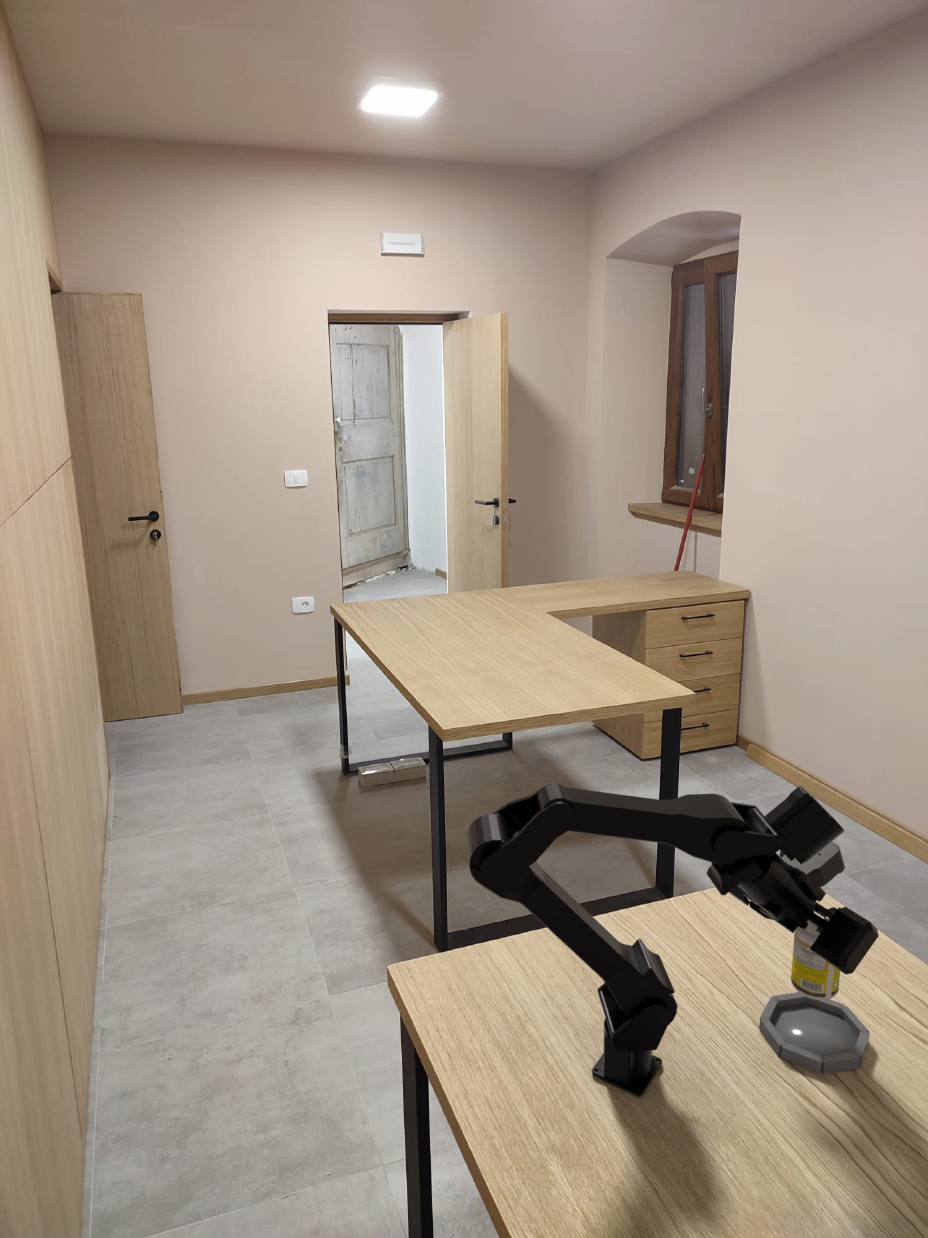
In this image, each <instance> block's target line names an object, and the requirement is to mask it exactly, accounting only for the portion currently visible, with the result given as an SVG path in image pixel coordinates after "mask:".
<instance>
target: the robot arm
mask: <svg viewBox="0 0 928 1238" xmlns="http://www.w3.org/2000/svg"><path fill="white" fill-rule="evenodd" d="M567 832H571V833H572V832H573V833H579V834H588V835H595V836H602V837H603V836H604V837H609V838H619V839H627V840H635V841H643V842H651V843H658V844H659V843H660V844H665V845H667V846H671V847H673V848H676V849H678V850H679V851H682V852H683V853H685V854H687V855H689V856H691V857H693V858H696V859H699V860H703V861H705V862H706V861H707V862H709V863H711V864H710V866H709V867H708V869H707V871H706V875H707V876H708V878H709V879H710V881H711V883H712V884H713V885H714V887H715V888H716V890H717V891H718V892H719V894H720V895H721V896H726V895H727V894H730V895H732V897H734V898H735V899H737V900H738V901H740V902H741V903H742V904H744V905H745V906H749V908H750V909H751V910H753V911H755V912H756V913H757V914H759V915H760V916H762V917H763V918H764V919H768V920H772V921H773V922H774V921H775V922H776V923H777V924H779V925H780V926H782V927H783V928H785V929H786V930H787V931H789V932H790V933H792V934H794V933H795V930H796V928H797V927H800V928H801V929H803V930H805V929H806V928H807V926H808V922H807V921H809V922H811V923H812V924H814V925H815V926H817V929H816V931H817V932H818V933H819V934H820V935H818V938H817V939H816V940H815V942H814V943H813V945H812V946H811V948H810V950H812V951H813V952H815V953H816V954H817V955H819V956H820V957H822V958H823V959H824V960H826V961H827V962H828V963H830V964H831V965H833V966H834V967H835V968H837V969H838V970H840V973H842V974H844V975H850V974H853V973H854V972H855V970H856V969H857V968H858V966H859V965H860V964H861V962H862V960H863V959H864V958H865V956H866V955H867V953H868V952H869V950H870V949H871V948H872V946H873V945H874V943H876V941H877V939H878V938H879V937H880V936H879V930H878V928H877V927H876V926H875V925H874V924H873V923H872V922H871V921H870V920H868V919H867V918H865V917H864V916H862V915H860V914H858V913H857V912H855V911H853V910H852V909H850V908H849V907H847V906H844V907H840V906H839V907H834V906H832V907H830V908H826V907H824V905H821V904H820V902H822V900H823V899H824V898H825V896H826V895H827V892H826V891H825V890H824V889H823V888H822V887H824V886H826V885H828V884H829V883H830V882H831V881H832V880H834V878H835V877H837V875H839V874H842V873H843V872H844V871H845V869H846V865H845V862H844V857H843V855H842V851H841V848H840V846H839V844H838V843H835V842H834V840H836V839H837V838H839V836H841V835H842V834H843V833H844V832H846V830H845V829H844V828H843V826H841V825H840V823H839V822H838V821H837V820H836V819H835V817H834V816H832V815H831V814H830V812H828V811H827V809H825V807H824V806H823V805H822V804H820V803H819V802H818V800H817V799H816V798H815V797H813V795H810V793H809V792H808V791H807V790H806V789H805V788H804V787H803V786H801V785H800V786H799V785H798V786H797V787H796V788H795V789H794V790H792V791H791V792H790V793H789V794H788V796H786V797H785V799H784V800H782V801H781V802H780V803H778V805H776V806H775V807H774V808H773V809H772V810H770V811H769V812H768V813H766V814H765V815H764V814H763V812H762V811H761V810H760V809H759V808H758V807H757V805H755V804H754V805H753V804H748V803H747V804H746V803H739V802H733V801H730V800H729V799H728V798H727V797H726V796H724V795H721V794H718V793H696V794H694V793H693V794H692V793H691V794H685V795H682V796H679V797H677V798H676V797H675V798H673V799H659V798H658V799H657V798H652V797H651V798H649V797H641V796H635V795H627V794H619V793H610V792H604V791H596V790H589V789H581V788H574V787H567V786H564V785H562V784H559V783H549V784H546V785H544V786H542V787H541V788H539V789H538V790H537V791H535V792H534V793H532V794H529V795H527V796H525V797H524V796H523V797H521V798H518V799H515V800H512V801H509V802H507V803H506V804H504V805H503V806H501V807H500V808H498V809H496V810H495V811H494V812H491V813H489V814H488V813H487V814H484V815H481V816H479V817H477V818H476V819H474V820H473V821H472V822H471V824H470V825H469V827H468V829H467V832H466V847H467V848H466V850H467V856H468V866H469V872H470V874H471V877H472V878H473V881H475V882H476V883H478V884H479V885H480V886H482V887H483V888H484V889H486V890H488V892H491V893H492V894H494V895H496V896H498V897H499V898H500V899H504V900H507V901H511V902H515V903H516V902H517V903H519V904H521V905H522V906H523V907H524V908H525V909H526V910H528V911H529V913H531V914H532V915H533V916H534V917H535V918H536V919H537V920H538V921H539V922H540V923H542V924H543V926H545V928H547V929H548V930H549V931H550V932H551V933H552V935H553V934H554V936H555V937H556V938H558V940H560V941H561V942H562V944H564V945H565V946H566V947H567V948H568V949H570V950H571V951H572V953H574V954H575V955H576V956H577V957H578V958H579V959H580V960H581V961H582V962H583V963H584V964H585V965H587V966H588V967H589V968H590V969H591V971H593V972H594V973H595V974H596V975H597V976H598V977H599V978H600V979H602V981H603V983H602V984H601V985H600V986H599V987H598V988H597V990H596V991H597V995H598V997H599V1001H600V1005H601V1007H602V1008H601V1009H602V1011H603V1013H604V1017H605V1018H604V1021H603V1053H602V1055H601V1056H600V1057H599V1058H598V1060H597V1061H596V1062H595V1064H594V1065H593V1067H592V1068H591V1075H593V1076H594V1077H595V1078H598V1079H600V1080H602V1081H605V1082H607V1083H609V1084H612V1085H613V1086H616V1087H618V1088H620V1089H622V1090H624V1091H626V1092H628V1093H631V1094H633V1095H634V1096H637V1097H642V1096H644V1093H646V1091H647V1089H648V1087H649V1086H650V1085H651V1083H652V1081H653V1080H654V1078H655V1076H657V1075H656V1074H657V1073H658V1071H659V1070H660V1069H661V1067H662V1066H663V1060H662V1058H660V1057H658V1056H656V1055H654V1054H653V1051H657V1050H658V1048H659V1046H660V1043H661V1041H662V1039H663V1037H664V1034H665V1033H666V1031H667V1028H668V1026H669V1025H670V1024H672V1022H673V1021H674V1020H675V1018H676V1015H677V1013H678V1007H679V1006H678V1004H677V1001H676V998H675V996H674V994H675V993H676V990H675V988H674V986H673V984H672V982H671V980H670V977H669V974H668V973H667V970H666V967H665V964H664V963H663V961H662V959H661V955H660V954H658V953H655V952H653V951H651V950H650V949H649V948H648V947H647V945H646V944H645V942H644V941H643V940H642V939H641V938H640V937H639V938H638V939H636V940H635V942H634V943H633V944H632V945H629V944H625V943H622V942H620V940H618V939H617V938H616V937H614V936H613V934H611V932H609V931H608V930H607V929H606V928H605V927H604V926H603V925H602V924H601V922H599V921H598V920H597V919H596V918H595V917H593V915H592V914H591V913H589V912H588V910H587V909H585V908H584V907H583V906H582V905H581V904H580V902H578V901H577V899H574V898H573V896H572V895H570V894H569V892H567V891H566V889H564V888H563V887H562V886H561V885H560V884H559V883H558V882H557V881H556V880H555V879H553V877H552V876H550V875H549V874H548V873H547V872H546V871H545V870H544V869H543V868H542V867H541V865H540V864H539V862H538V860H539V858H540V857H541V856H543V854H544V853H545V852H546V851H547V849H548V848H549V847H550V846H551V845H552V844H553V842H555V840H556V839H558V838H559V837H561V836H562V835H564V834H565V833H567ZM779 851H780V852H779ZM777 852H779V854H778V853H777ZM818 902H819V903H818ZM814 911H815V912H816V913H818V914H820V915H821V916H823V917H824V919H823V918H822V917H820V916H818V915H817V914H815V913H814ZM826 917H828V918H829V919H828V918H826Z"/></svg>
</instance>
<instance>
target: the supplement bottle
mask: <svg viewBox="0 0 928 1238" xmlns="http://www.w3.org/2000/svg"><path fill="white" fill-rule="evenodd" d="M814 913H815V914H817V915H818V916H820V917H822V918H823V919H824V917H823V916H821V915H820V914H818V913H816V912H815V911H814ZM826 918H828V917H826ZM828 919H829V918H828ZM807 922H808V926H807V928H806V929H805V930H803V929H801V928H800V927H797V928H796V930H795V931H794V933H793V935H794V936H793V947H792V948H793V949H792V960H791V961H792V962H791V972H790V973H791V974H790V981H791V985H792V987H793V988H794V989H795V991H796V992H799V993H800V994H802V995H803V996H805V997H808V998H811V999H815V1000H828V999H830V1000H832V999H833V998H835V997H836V996H837V995H838V993H839V987H840V980H841V971H840V970H838V969H837V968H835V967H834V966H833V965H831V964H830V963H828V962H827V961H826V960H824V959H823V958H822V957H820V956H819V955H817V954H816V953H815V952H813V951H812V950H810V948H811V946H812V945H813V943H814V942H815V940H816V939H817V938H818V935H820V934H819V933H818V932H817V931H816V929H817V926H815V925H814V924H812V923H811V922H809V921H807Z"/></svg>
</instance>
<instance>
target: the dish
mask: <svg viewBox="0 0 928 1238" xmlns="http://www.w3.org/2000/svg"><path fill="white" fill-rule="evenodd" d="M758 1028H759V1031H760V1032H761V1034H762V1035H763V1038H765V1039H766V1041H767V1042H768V1043H769V1045H770V1047H771V1048H772V1050H774V1052H775V1054H776V1055H777V1057H780V1059H783V1060H785V1061H787V1062H790V1063H793V1064H795V1065H797V1066H800V1067H802V1068H804V1069H807V1070H810V1071H812V1072H815V1073H818V1074H820V1075H821V1073H822V1074H823V1075H827V1074H833V1073H839V1072H845V1071H853V1070H858V1069H860V1068H862V1064H863V1061H864V1059H865V1056H866V1053H867V1050H868V1047H869V1045H870V1043H869V1042H870V1036H871V1035H870V1030H869V1029H868V1028H867V1026H865V1025H864V1023H862V1021H861V1020H860V1019H859V1018H858V1017H857V1015H856V1014H855V1013H854V1012H853V1011H852V1010H851V1009H850V1007H848V1006H847V1005H845V1003H841V1002H839V1001H836V1000H833V999H828V1000H815V999H811V998H808V997H805V996H803V995H802V994H800V993H799V992H798V991H796V992H789V993H783V994H777V995H772V996H770V998H769V1000H768V1001H767V1004H766V1005H765V1008H764V1009H763V1011H762V1013H761V1015H760V1017H759V1027H758Z"/></svg>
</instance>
